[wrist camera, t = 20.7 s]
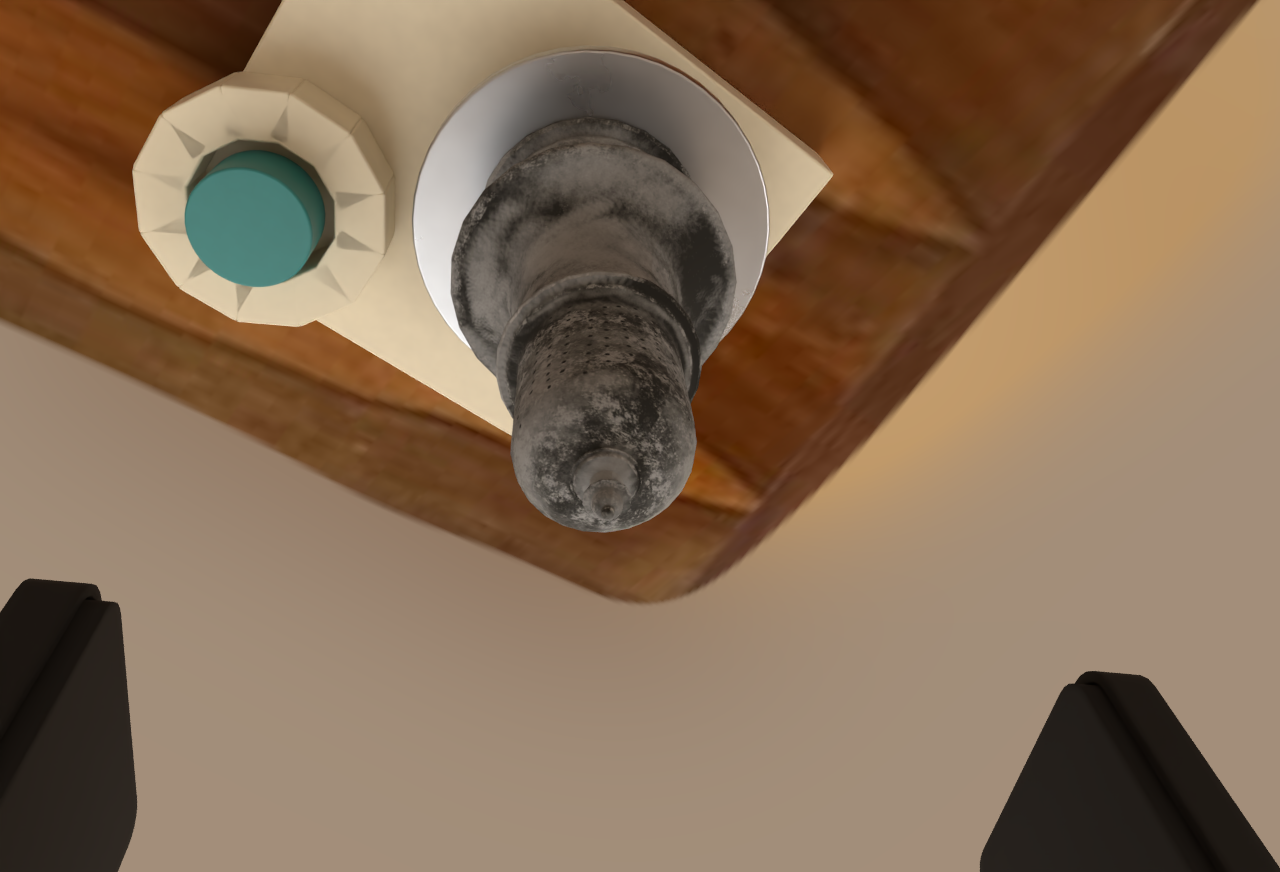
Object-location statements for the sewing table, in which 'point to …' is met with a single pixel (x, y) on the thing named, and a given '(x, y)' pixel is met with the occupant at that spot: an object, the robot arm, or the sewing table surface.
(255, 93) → the scale
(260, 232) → the button
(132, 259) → the sewing table surface
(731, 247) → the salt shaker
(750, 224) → the weighing pan
